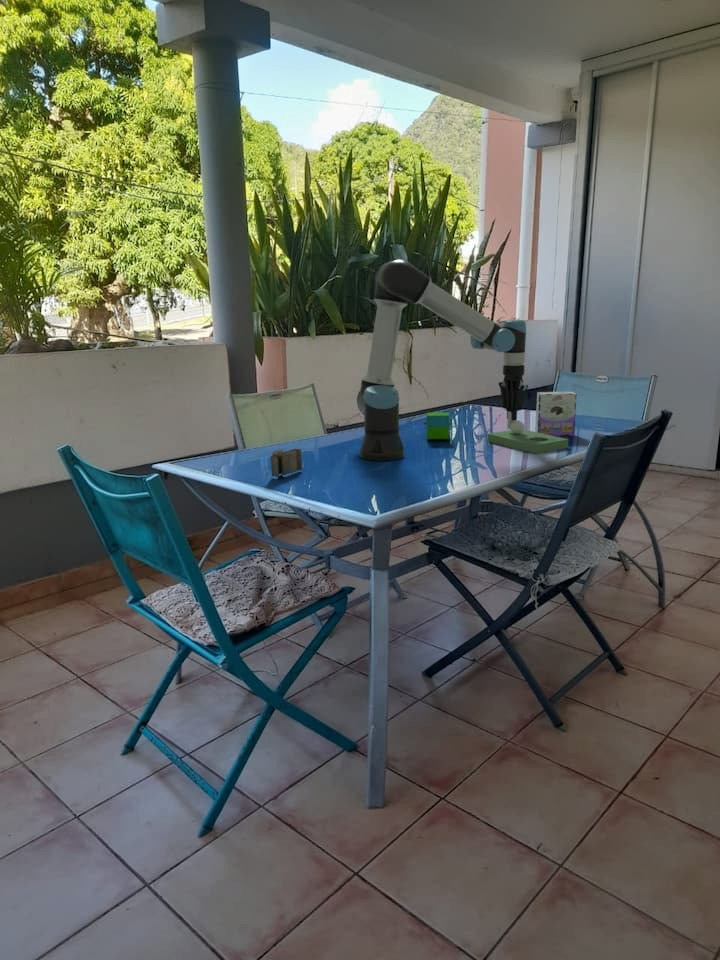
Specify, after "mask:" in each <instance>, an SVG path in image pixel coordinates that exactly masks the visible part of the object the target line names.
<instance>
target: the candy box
mask: <svg viewBox="0 0 720 960" xmlns="http://www.w3.org/2000/svg"><path fill="white" fill-rule="evenodd" d="M535 407H536V409H535V410H536V411H535V412H536V413H535V427H534V428H535V429H534V430H535V431H534V432H537V433H542V434H546V435H551V436H555V437H574V436H575V429H576V428H575V427H576V412H577V411H576V410H577V408H576V407H577V393H576V392H574V391H537V392H536V406H535Z"/></svg>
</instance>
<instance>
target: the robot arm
mask: <svg viewBox="0 0 720 960" xmlns="http://www.w3.org/2000/svg"><path fill="white" fill-rule="evenodd" d="M374 285H375V290H374V296H373V300H374V302H375V303H376V306H377V308H376V314H375V320H374V321H375V322H374V328H373V332H372V339H371V345H370V351H369V352H370V353H369V359H368V360H369V361H368V365H367V372H366V375H365V376H364V377H362V378H361V383H360V389H359V392H358V394H357V396H356V405H357V408H358V410H359V412H360V413H361V414H362V415H363V416H364V417H363V418H364V436H363V439H362V442H361V446H360V450H359V457H360V458H361V459H362V458H363V460H365V459H367V461H371V460H375V461H374V462H387V461H386V460H391V461H396V460H395V459H397V460H400V458H401V459H403V458H404V457H405V449H404V445H403V442H402V438H401V437H400V422H399V421H400V413H399V412H400V394H399V391H398V389H397V388H395V383H394V381H393V380H392V374H393V368H394V361H395V356H396V349H397V343H398V336H399V330H400V325H401V319H402V311H403V309H404V308H405V307H407V306H408V303H409V302H411V303H412V304H414V305H418V304H420V305H421V306H423V307H424V308H426V309H428V310H429V311H431V312H433V313H434V314H435V315H438V316H439V317H440V318H442V319H444V320H446V321H447V322H449V323H450V324H452V325H454V326H455V327H457V328H458V329H460V330H462V331H463V332H465V333H467V334H468V335H470V345H471V347H472V349H474V350H476V349H479V350H482V349H483V350H485V349H487V350H491V351H495V352H498V353H503V357H502V358H503V359H502V360H503V361H502V363H503V365H502V375H503V376H504V377H503V380H502V381H500V382H498V386H499V389H500V395H501V404H502V409H504V410H505V411H506V419H507V423H506V424H507V425H506V426H507V428H506V429H507V430H511V428H510V427H511V424H512V423H513V422H514V421H518V420H517V419H518V411H522V410H523V404H524V401H525V396H526V392H527V390H528V388H529V386H528V384H525V383H524V380H523V376H524V375H525V362H526V359H525V358H526V341H527V340H526V338H527V323H526V321H524V320H522V319H511V320H508V319H507V320H505V321H504V324H503V325H502V326H501V325H499V324H497V323H495V322H494V321H493V320H491V319H489V318H488V317H487V316H485V315H483V314H482V313H480V312H479V311H477V310H475V309H474V308H472V307H470V306H469V305H468V304H466V303H464V301H461V300H460V299H458V298H457V297H455V296H454V295H452V294H450V293H449V292H447V291H446V290H444V289H442V288H441V287H440V286H438V285H436V284H435V283H433V282H432V277H430V276H428V275H427V274H425V273H424V272H423V271H421V270H420V269H419V268H417V266H414V265H413V263H411V262H409V261H406V260H404V259H394V260H390V261H387V262H384V263H383V264H382V265H381V266H380V267H379V268H378V269H377V271H376V272H375V277H374ZM402 457H403V458H402Z"/></svg>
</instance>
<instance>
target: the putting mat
mask: <svg viewBox="0 0 720 960" xmlns="http://www.w3.org/2000/svg"><path fill="white" fill-rule="evenodd" d="M486 441H487V443H491V444H494V443H495V445H498V444H499V446H503V447H507V448H510V449H515V450H517V449H518V450H517V451H521V450H522V452H525V451H526V453H529V452H530V453H529V454H533V453H536V454H541V453H540V452H542V453H547V452H551V451H557V450H562V449H568V446H569V439H568V438H563V437H561V436H551V435H546V434H542V433H537V432H535V431H533V430H527V429H524V431H523V432H522V433H521V434H514V433H513V432H512V431H511V429H507V430H502V431H497V432H490V433H487V440H486ZM546 451H547V452H546Z"/></svg>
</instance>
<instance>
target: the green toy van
mask: <svg viewBox="0 0 720 960" xmlns="http://www.w3.org/2000/svg"><path fill="white" fill-rule="evenodd" d="M424 425H425V426H426V440H427V441H428V442H429V441H430V442H431V440H445V441H447V442H448V441H449V439H450V426H451V425H452V422H450V413H449V412H426V422H424Z"/></svg>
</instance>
